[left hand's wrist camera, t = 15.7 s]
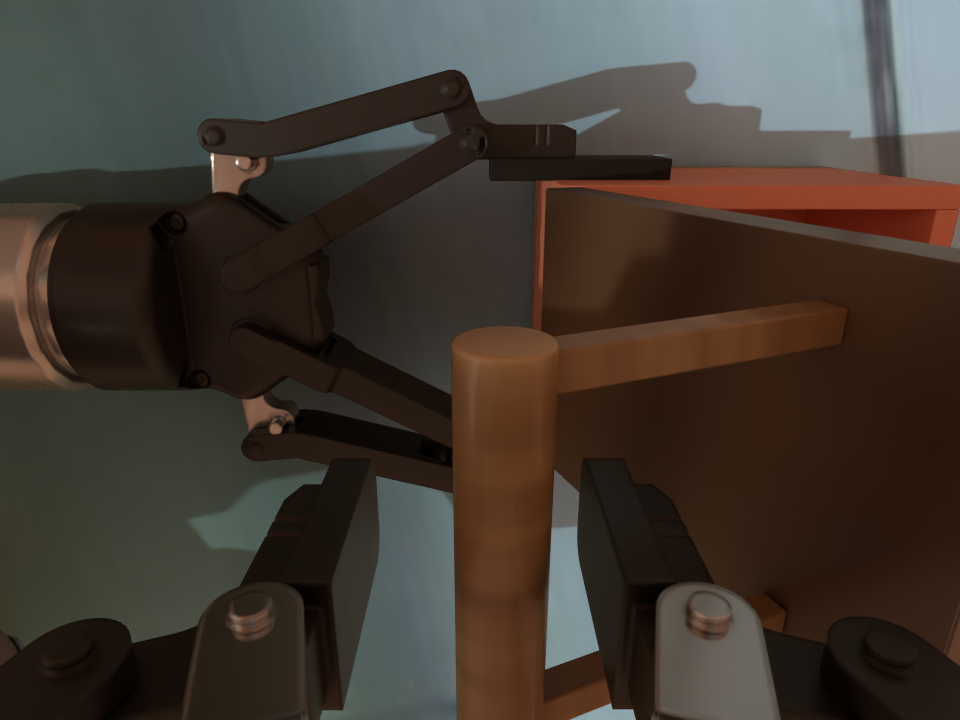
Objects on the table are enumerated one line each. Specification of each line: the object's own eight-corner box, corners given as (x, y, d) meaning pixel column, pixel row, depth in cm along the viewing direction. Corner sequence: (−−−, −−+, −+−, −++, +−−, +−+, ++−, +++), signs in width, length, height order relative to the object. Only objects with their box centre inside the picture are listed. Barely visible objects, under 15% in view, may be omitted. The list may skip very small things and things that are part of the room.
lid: (1119, 273, 9) (586, 357, 6) (948, 768, 12) (548, 997, 9) (579, 186, 21) (311, 197, 18) (566, 446, 24) (337, 495, 21)
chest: (821, 166, 31) (966, 185, 22) (788, 355, 34) (902, 441, 25) (535, 166, 31) (559, 185, 22) (530, 355, 34) (549, 441, 25)
